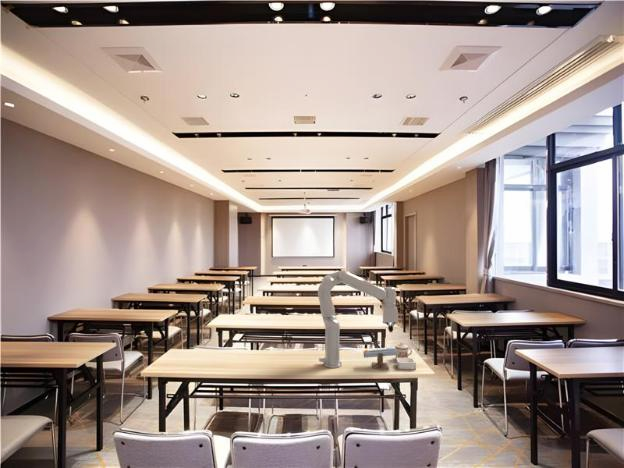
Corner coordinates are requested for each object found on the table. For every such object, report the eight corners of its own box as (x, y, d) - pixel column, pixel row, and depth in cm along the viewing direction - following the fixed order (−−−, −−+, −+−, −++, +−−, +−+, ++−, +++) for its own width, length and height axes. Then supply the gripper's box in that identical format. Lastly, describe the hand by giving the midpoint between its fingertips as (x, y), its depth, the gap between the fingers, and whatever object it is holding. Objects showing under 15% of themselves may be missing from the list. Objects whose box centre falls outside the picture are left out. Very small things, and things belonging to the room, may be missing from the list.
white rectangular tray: (398, 369, 238) (398, 362, 238) (396, 364, 247) (396, 357, 247) (415, 369, 237) (415, 362, 237) (413, 364, 246) (413, 358, 246)
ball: (365, 355, 243) (363, 351, 243) (365, 354, 247) (363, 349, 247) (370, 354, 243) (368, 349, 243) (369, 352, 246) (368, 348, 246)
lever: (363, 357, 242) (363, 353, 242) (363, 351, 255) (362, 347, 255) (397, 355, 240) (396, 350, 240) (394, 349, 253) (394, 345, 253)
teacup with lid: (397, 361, 253) (397, 344, 253) (393, 357, 262) (393, 341, 262) (414, 360, 254) (414, 344, 254) (409, 356, 263) (409, 340, 263)
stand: (373, 369, 239) (373, 354, 239) (372, 363, 250) (371, 349, 250) (388, 369, 238) (388, 354, 238) (386, 363, 249) (386, 349, 249)
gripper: (379, 306, 246) (380, 333, 246) (402, 306, 245) (402, 333, 245) (378, 304, 254) (379, 330, 254) (400, 304, 253) (401, 330, 252)
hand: (390, 331), depth 249 cm, fingers closed
